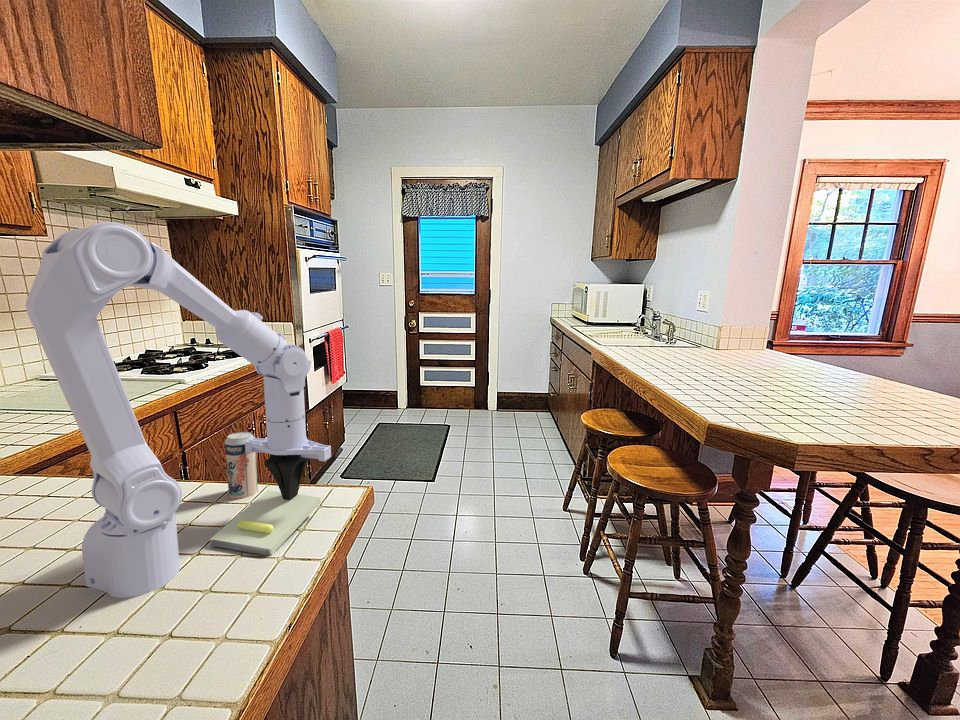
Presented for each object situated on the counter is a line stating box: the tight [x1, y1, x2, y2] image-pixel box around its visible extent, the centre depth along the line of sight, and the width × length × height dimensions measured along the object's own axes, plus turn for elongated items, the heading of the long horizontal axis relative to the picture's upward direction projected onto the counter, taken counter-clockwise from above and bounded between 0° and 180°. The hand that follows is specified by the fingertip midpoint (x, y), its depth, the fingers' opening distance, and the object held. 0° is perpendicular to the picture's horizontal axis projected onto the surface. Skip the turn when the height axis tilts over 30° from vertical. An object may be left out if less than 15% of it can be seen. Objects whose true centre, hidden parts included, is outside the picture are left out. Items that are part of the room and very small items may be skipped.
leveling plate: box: [209, 490, 322, 556], centre depth 64 cm, size 10×12×2 cm
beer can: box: [224, 431, 259, 500], centre depth 76 cm, size 5×5×12 cm
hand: (290, 496), depth 69 cm, fingers closed, pressing on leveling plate
